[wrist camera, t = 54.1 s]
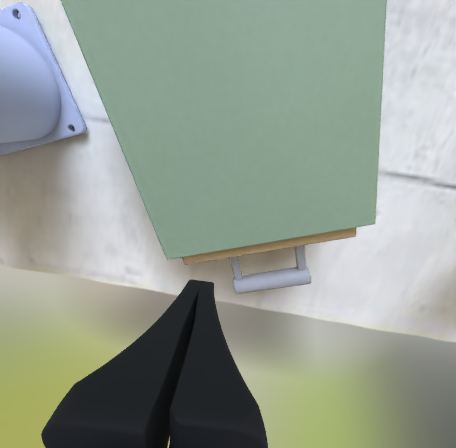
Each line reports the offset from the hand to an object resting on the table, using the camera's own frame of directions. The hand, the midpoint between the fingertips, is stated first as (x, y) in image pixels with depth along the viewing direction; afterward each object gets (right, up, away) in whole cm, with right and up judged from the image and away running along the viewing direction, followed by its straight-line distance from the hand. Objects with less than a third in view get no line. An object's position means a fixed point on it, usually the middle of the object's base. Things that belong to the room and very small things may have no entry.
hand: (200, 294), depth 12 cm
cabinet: (+3, +12, +5) cm, 13 cm away
